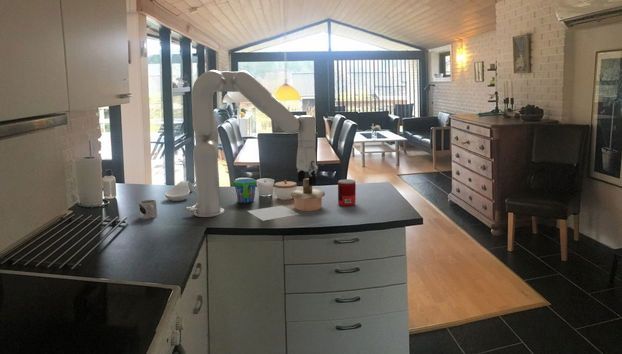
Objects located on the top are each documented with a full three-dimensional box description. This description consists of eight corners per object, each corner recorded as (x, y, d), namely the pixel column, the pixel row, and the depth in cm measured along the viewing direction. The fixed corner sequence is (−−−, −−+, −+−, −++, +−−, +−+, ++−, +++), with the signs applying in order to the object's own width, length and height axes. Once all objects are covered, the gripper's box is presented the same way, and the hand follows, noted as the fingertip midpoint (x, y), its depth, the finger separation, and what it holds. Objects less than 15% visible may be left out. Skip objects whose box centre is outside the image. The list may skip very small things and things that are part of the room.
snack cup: (236, 198, 213) (235, 177, 211) (258, 197, 213) (257, 177, 211) (232, 206, 197) (231, 184, 196) (256, 205, 198) (255, 183, 196)
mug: (138, 216, 182) (137, 201, 181) (154, 214, 186) (153, 199, 185) (145, 222, 175) (144, 206, 173) (162, 219, 179) (161, 203, 177)
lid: (301, 200, 181) (300, 184, 180) (284, 193, 194) (284, 178, 193) (331, 196, 189) (331, 180, 187) (313, 189, 201) (313, 174, 200)
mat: (262, 221, 173) (262, 220, 173) (246, 212, 187) (246, 210, 187) (300, 215, 181) (300, 214, 181) (282, 206, 196) (282, 205, 195)
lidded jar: (298, 196, 214) (297, 178, 212) (295, 202, 203) (294, 182, 201) (276, 196, 215) (276, 177, 213) (272, 201, 204) (272, 182, 203)
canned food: (358, 204, 198) (359, 180, 196) (347, 207, 192) (348, 183, 190) (345, 201, 203) (345, 178, 201) (334, 204, 197) (334, 181, 195)
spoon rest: (186, 203, 205) (184, 188, 204) (161, 203, 206) (160, 188, 204) (199, 191, 229) (199, 178, 227) (177, 192, 229) (176, 178, 228)
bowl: (302, 213, 184) (302, 199, 183) (289, 207, 195) (289, 193, 193) (326, 209, 190) (326, 195, 189) (313, 203, 200) (312, 190, 199)
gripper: (289, 142, 193) (290, 180, 196) (309, 147, 178) (309, 187, 181) (304, 142, 196) (304, 179, 199) (324, 145, 181) (324, 186, 185)
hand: (306, 183), depth 190 cm, fingers open, 9 cm apart
